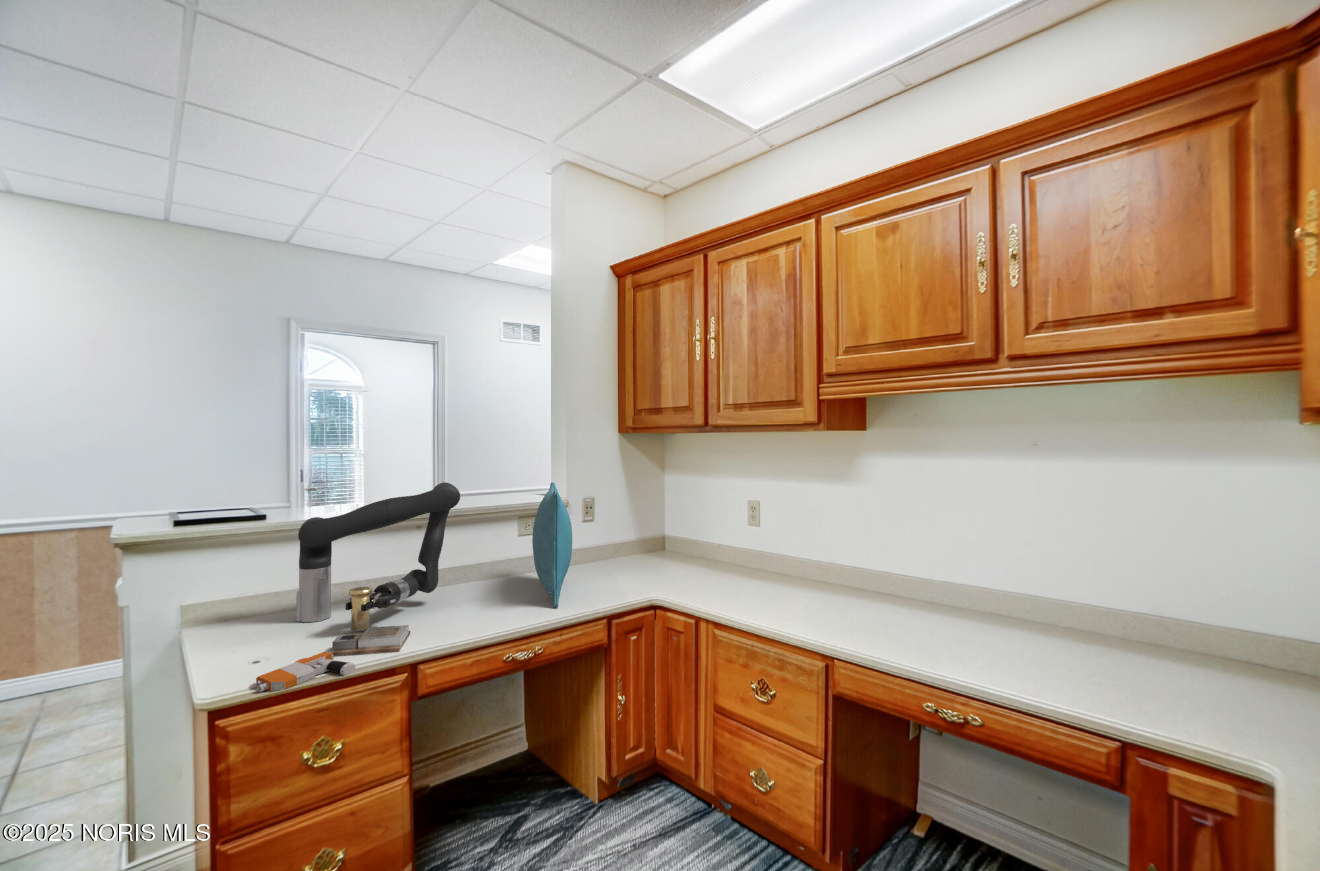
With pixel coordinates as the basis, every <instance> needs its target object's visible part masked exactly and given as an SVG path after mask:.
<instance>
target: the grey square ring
mask: <svg viewBox="0 0 1320 871" xmlns="http://www.w3.org/2000/svg"><path fill="white" fill-rule="evenodd" d="M363 634H364V633H363V632H359V633H344V634H343V633H342V634H338V636H337V637H336V638H335V639H334V640H333V641H332V642H331V643H332V648H331V650H332V651H340V650H354V649H357V648H358V640H359V639H360V638H361V636H362V635H363Z"/></svg>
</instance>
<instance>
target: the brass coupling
mask: <svg viewBox="0 0 1320 871" xmlns="http://www.w3.org/2000/svg"><path fill="white" fill-rule="evenodd" d="M372 592H373V587H372V586H367V585H364V586H363V585H362V586H356V587H352V588H350V589H348V595H349V596H350V597H352V601H351V609H350V611H351V613H350V615H351V616H350V622H351V625H350V626H351V627H350V629H351V631H357V632H359V631H366V630H367V629H368V628H369V627H370V615H371V614H370V612H371V611H370V610H371V609H369V610H367V611H364V612H362V611H361V605H362V604H364V603H367V602H369V601H370V593H372Z"/></svg>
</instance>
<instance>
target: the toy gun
mask: <svg viewBox="0 0 1320 871" xmlns="http://www.w3.org/2000/svg"><path fill="white" fill-rule="evenodd" d="M329 652H330V651H329ZM329 652H326V651H322V652H319V653H317V654H314V655H312V656H309V657H303V658H300V659H298V660H296V661H295V662H293V663H291V664H288V665H284V666H283V667H280V668H279V667H278V668H276V669H274V670H272V671H269V672H267V673H263V674H261V675H258V676H257V677H256V679H255V686H256V688H257V691H258V692H259V693H261V692H264V691H265V690H266V691H269V692H275V691H285V690H287V689H290V688H292V687H295V686H298V685H300V684H303V683H305V682H308V681H311V680H314V679H315V676H318V675H321V674H323V673H328V672H331V673H335V674H339V675H341V676H347V675H350V674H352V673H353V672H354V671H355V669H356V664H354V662H349V661H342V660H337V659H334V658H335V656H333V654H332V653H329Z"/></svg>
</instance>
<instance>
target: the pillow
mask: <svg viewBox="0 0 1320 871" xmlns="http://www.w3.org/2000/svg"><path fill="white" fill-rule="evenodd" d="M531 542H532V554H533V561H534V568H535V572H536V575H537V577H538V579H539V581H540V583H541V584H542V586H543V587H544V588H545V589H546V591H547V592H548V594H549V595H550V597H551V599H552V601H553V608H556V609H558V608H559V602H560V600H559V599H560V595H561V590H562V586H563V583H564V580H565V578H566V576H567V573H568V570H569V568H570V565H571V560H572V555H573V527H572V521H571V517H570V514H569V512H568V509H567V507H566V505H565V503H564V502H563V499H562V497H561V495H560V494H559V491H558V489H557V486H556V483H555V482H554V481H552V482H550V486H549V489H548V491H547V492H546V493H545V495H544V497H543V498H542V500H541V501H540V503H539V506H538V509H537V510H536V513H535V518H534V522H533V527H532V541H531Z"/></svg>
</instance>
